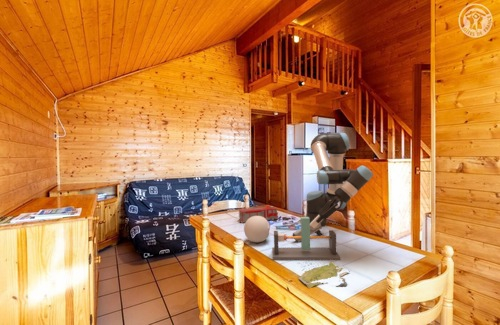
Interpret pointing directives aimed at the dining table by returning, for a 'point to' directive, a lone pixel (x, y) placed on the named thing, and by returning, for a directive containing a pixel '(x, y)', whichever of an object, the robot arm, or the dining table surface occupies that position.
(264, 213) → the toy
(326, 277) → the landscape model
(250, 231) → the toy
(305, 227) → the sleeve
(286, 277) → the dining table surface
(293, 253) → the grey slider rail stand
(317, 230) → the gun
